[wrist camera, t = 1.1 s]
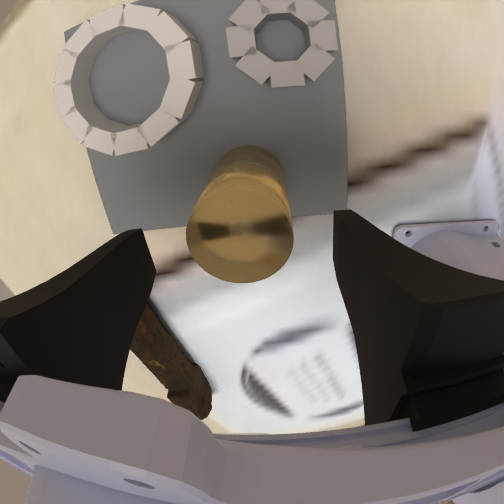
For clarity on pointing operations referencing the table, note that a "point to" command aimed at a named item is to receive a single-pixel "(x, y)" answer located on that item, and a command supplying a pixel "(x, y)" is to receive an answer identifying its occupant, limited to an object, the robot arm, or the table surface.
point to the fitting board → (205, 101)
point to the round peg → (242, 218)
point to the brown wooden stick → (171, 366)
